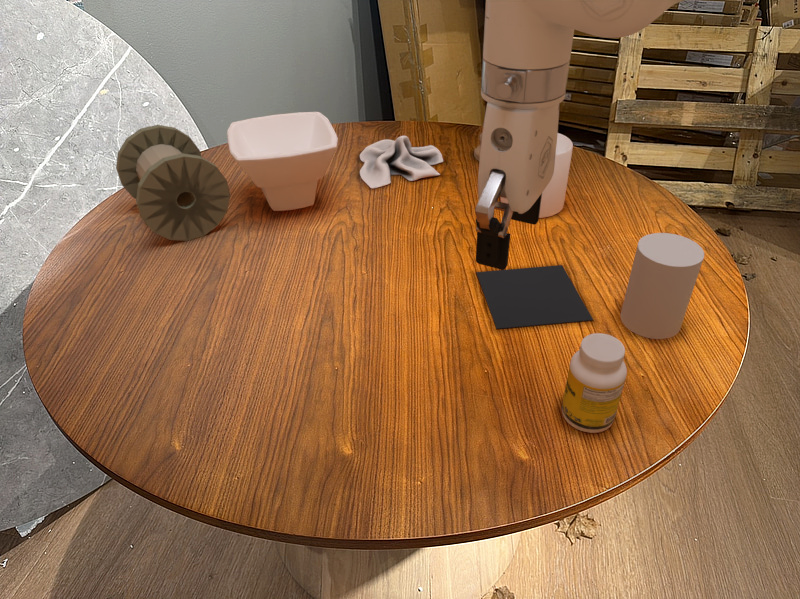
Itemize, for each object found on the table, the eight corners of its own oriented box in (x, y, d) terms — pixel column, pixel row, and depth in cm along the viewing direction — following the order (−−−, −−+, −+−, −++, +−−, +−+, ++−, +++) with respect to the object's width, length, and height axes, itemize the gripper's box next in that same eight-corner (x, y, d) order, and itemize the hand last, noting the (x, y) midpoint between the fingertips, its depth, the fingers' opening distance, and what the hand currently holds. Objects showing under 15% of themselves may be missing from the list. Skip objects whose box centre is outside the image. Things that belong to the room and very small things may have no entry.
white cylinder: (522, 182, 122) (528, 124, 115) (575, 200, 116) (585, 139, 109) (488, 205, 115) (492, 144, 108) (542, 225, 109) (551, 162, 102)
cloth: (367, 142, 140) (365, 115, 136) (448, 146, 137) (449, 119, 133) (342, 187, 123) (340, 158, 119) (435, 193, 120) (435, 163, 116)
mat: (562, 265, 99) (562, 264, 99) (593, 320, 88) (593, 319, 88) (476, 273, 98) (476, 272, 98) (496, 329, 87) (496, 328, 87)
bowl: (330, 174, 127) (323, 108, 119) (349, 219, 112) (343, 147, 104) (238, 187, 124) (224, 120, 115) (246, 236, 109) (231, 162, 100)
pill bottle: (562, 392, 77) (575, 324, 70) (613, 401, 76) (632, 332, 69) (558, 429, 72) (572, 360, 66) (613, 439, 71) (633, 370, 64)
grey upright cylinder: (693, 324, 87) (717, 252, 79) (655, 346, 83) (677, 274, 76) (645, 296, 92) (664, 226, 85) (608, 316, 89) (624, 245, 81)
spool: (130, 211, 117) (105, 136, 108) (207, 190, 123) (190, 117, 114) (152, 251, 105) (127, 170, 96) (236, 225, 112) (219, 147, 102)
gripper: (533, 118, 47) (513, 295, 58) (591, 57, 59) (566, 213, 70) (444, 104, 50) (441, 275, 61) (516, 48, 62) (503, 199, 73)
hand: (508, 242), depth 65 cm, fingers open, 9 cm apart
